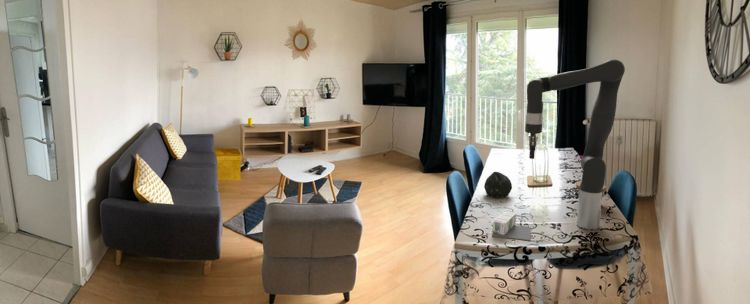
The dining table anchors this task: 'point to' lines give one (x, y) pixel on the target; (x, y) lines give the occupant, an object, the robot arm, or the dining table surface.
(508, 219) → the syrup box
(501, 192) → the squash
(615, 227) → the dining table surface
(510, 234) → the mat
